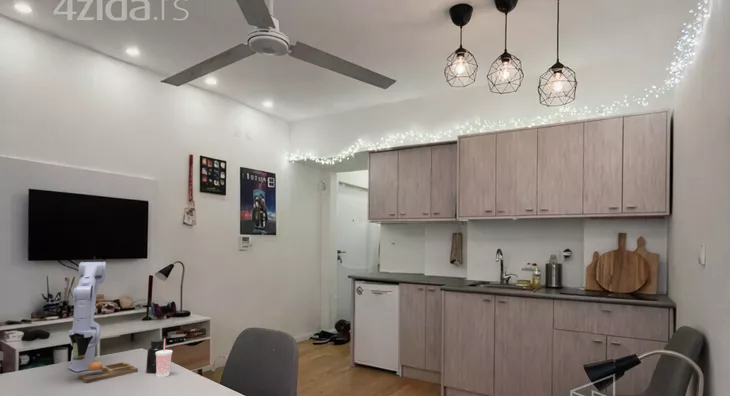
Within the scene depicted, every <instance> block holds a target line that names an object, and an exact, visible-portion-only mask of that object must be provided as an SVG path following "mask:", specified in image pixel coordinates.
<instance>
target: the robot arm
mask: <svg viewBox="0 0 730 396" xmlns="http://www.w3.org/2000/svg"><path fill="white" fill-rule="evenodd" d="M106 274H107V262H106V261H87V262H86V261H85V262H84V261H80V263H79V264H78V279H79V280H78V283H77V286H76V287H74V288H73V293H72V300H73V318H72V326H71V330H68V333H69V335H68V337H69V339H70V345H71V347H73V344H74V343H75V342H76V343H77V349H78V356H81V355H85V359H82V360H73V349H72V350H71V354H70V355H71V356H70V366H67V369H69V370H71V371H74V372H75V373H78V372H83V371H88V364H89V363H90V362H95V359H96V358H95V355H96V345H98V344H99V343H100V340H101V324H99V323H98V322H96V321H95V311H96V303H97V293H98V288H99V285H100V284H103V283H104V282H105V279H106Z"/></svg>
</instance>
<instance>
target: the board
mask: <svg viewBox="0 0 730 396" xmlns="http://www.w3.org/2000/svg"><path fill="white" fill-rule="evenodd" d="M138 371H139V368H138V367H135V366H134V365H133V364H131V363H128V362H126V361H121V362H116V363H112V364H111V363H110V364H105V365H102V369H100V370H97V371H89V372H86V373H82V374H78V376H77V379H78V380H80V381H83V382H85V383H86V384H88V383H94V382H98V381H102V380H108V379H111V378H115V377H120V376H125V375H128V374H129V375H130V374H133V373H134V374H135V373H137V372H138Z"/></svg>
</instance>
